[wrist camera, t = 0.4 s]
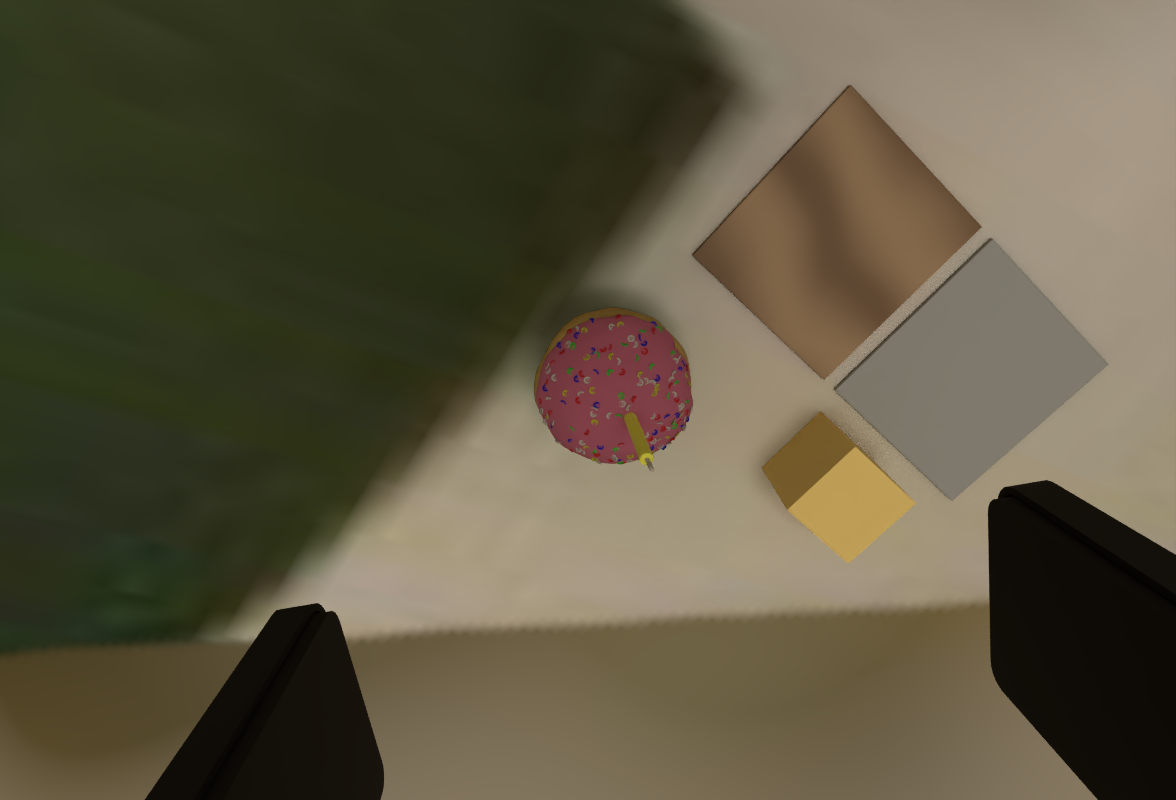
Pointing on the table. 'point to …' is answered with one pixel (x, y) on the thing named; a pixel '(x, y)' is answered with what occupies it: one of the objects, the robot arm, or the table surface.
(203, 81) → the table surface
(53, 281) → the table surface
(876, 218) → the walnut mat
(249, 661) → the robot arm
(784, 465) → the mustard block
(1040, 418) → the grey mat
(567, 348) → the cupcake
